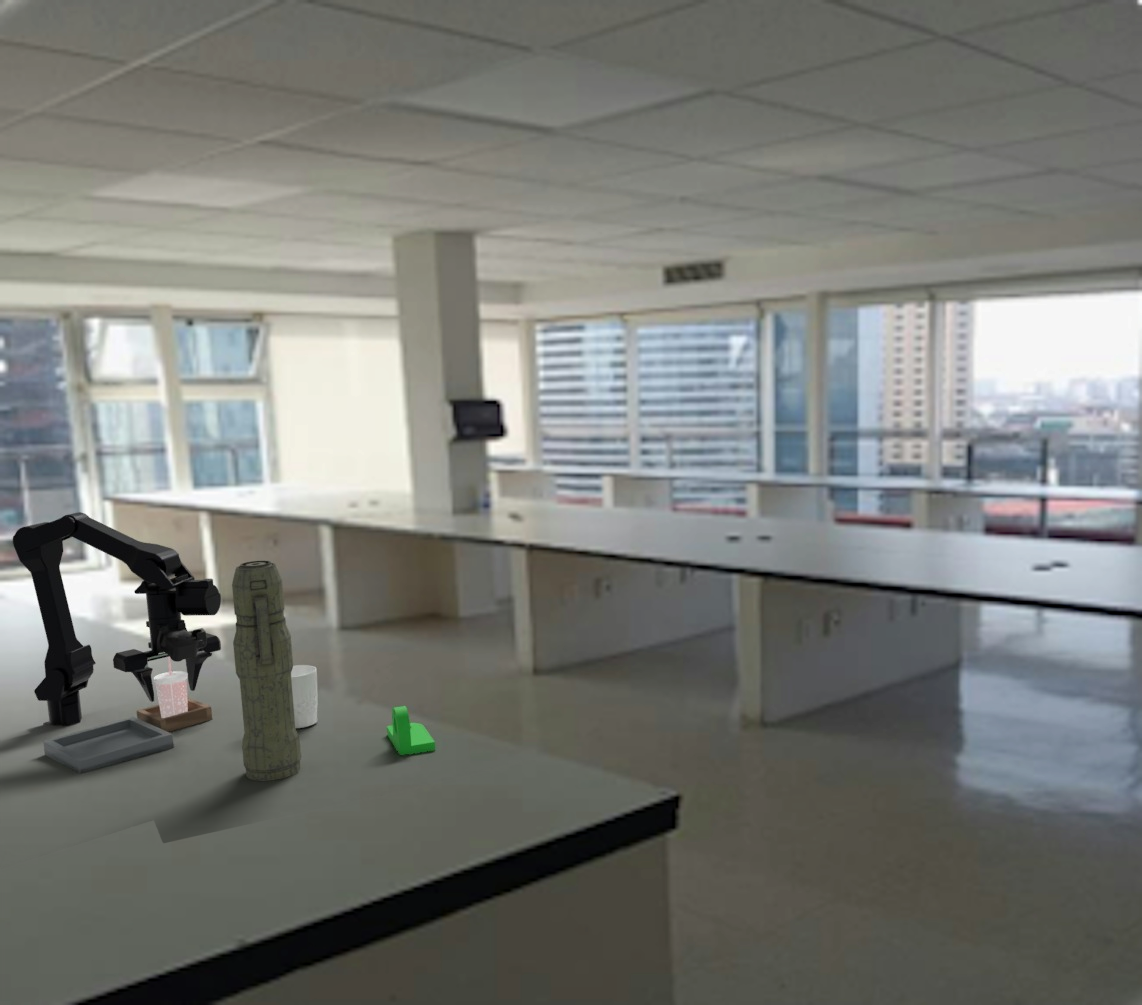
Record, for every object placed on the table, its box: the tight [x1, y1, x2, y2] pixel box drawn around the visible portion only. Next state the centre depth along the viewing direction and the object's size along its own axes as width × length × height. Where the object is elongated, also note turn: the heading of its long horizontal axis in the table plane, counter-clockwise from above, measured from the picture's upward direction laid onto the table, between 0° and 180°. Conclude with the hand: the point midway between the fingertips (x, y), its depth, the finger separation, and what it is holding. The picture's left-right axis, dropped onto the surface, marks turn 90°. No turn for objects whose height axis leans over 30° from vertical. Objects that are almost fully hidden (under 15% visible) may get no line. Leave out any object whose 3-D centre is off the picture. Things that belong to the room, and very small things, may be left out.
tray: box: [42, 716, 175, 774], centre depth 183 cm, size 16×16×2 cm
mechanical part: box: [386, 705, 436, 756], centre depth 179 cm, size 12×6×8 cm, turn 20°
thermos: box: [231, 560, 302, 782], centre depth 166 cm, size 9×12×35 cm
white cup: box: [291, 664, 319, 729], centre depth 193 cm, size 8×8×10 cm
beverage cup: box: [153, 656, 188, 718], centre depth 197 cm, size 6×6×14 cm
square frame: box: [136, 696, 213, 733], centre depth 198 cm, size 10×10×2 cm
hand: (172, 695), depth 198 cm, fingers closed on beverage cup, 8 cm apart
